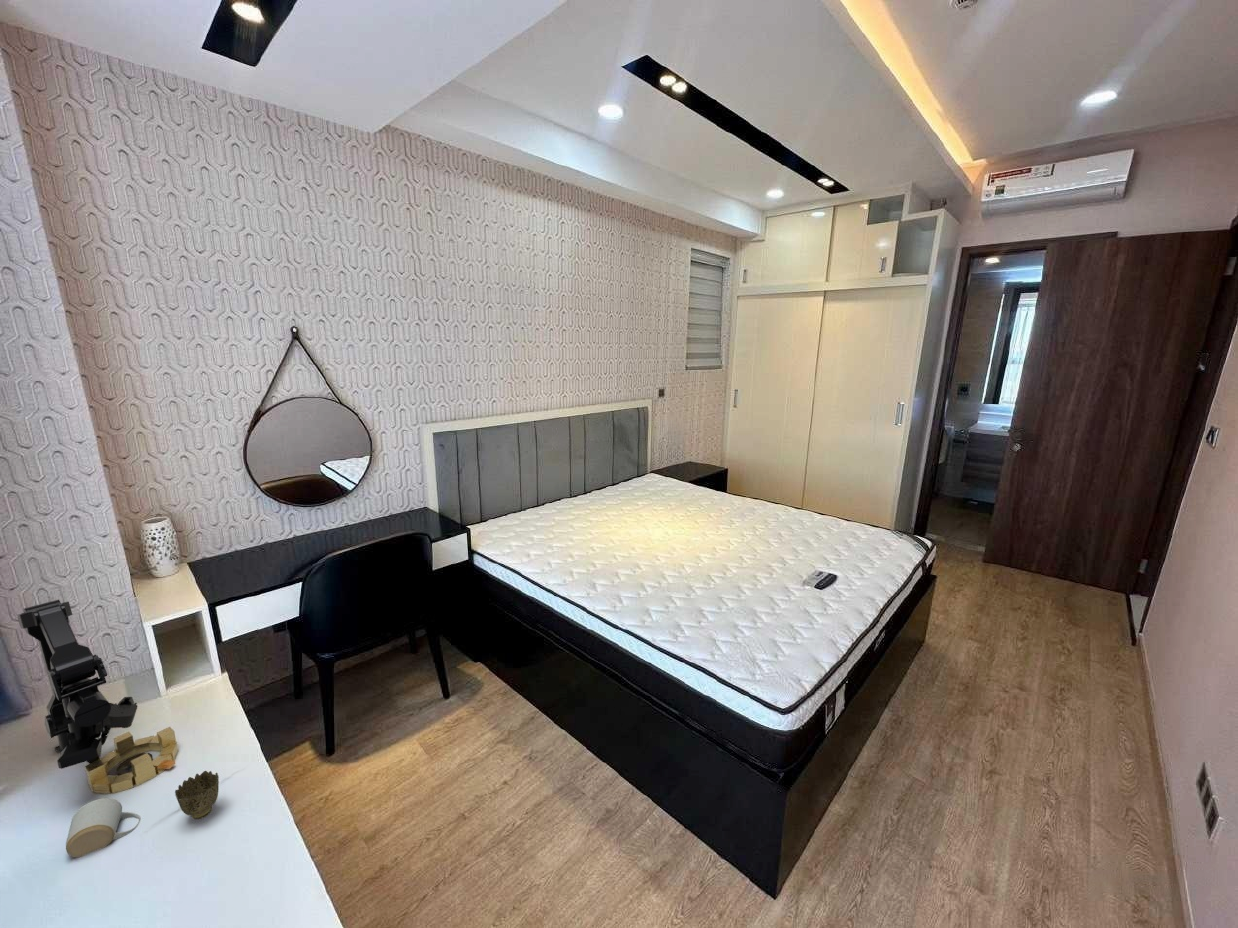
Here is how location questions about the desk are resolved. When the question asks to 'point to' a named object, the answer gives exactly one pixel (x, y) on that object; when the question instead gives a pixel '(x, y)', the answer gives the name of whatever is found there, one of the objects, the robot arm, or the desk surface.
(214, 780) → the cup
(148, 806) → the desk surface
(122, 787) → the ring nut
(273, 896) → the desk surface
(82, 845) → the ceramic mug
